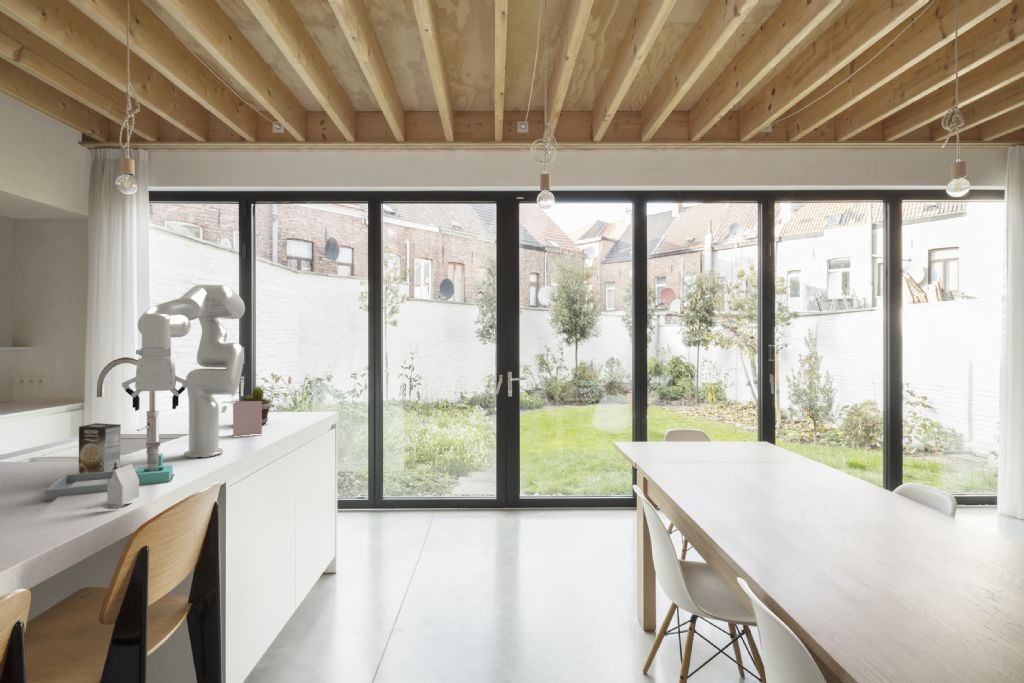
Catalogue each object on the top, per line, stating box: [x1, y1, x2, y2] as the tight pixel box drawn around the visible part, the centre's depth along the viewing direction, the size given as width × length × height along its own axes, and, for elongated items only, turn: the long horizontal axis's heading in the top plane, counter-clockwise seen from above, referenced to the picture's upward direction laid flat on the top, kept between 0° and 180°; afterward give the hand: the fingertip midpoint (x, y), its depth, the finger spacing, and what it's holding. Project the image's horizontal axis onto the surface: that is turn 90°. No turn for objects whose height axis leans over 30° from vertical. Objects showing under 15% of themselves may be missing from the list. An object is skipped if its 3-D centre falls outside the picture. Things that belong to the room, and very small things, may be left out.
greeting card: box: [232, 400, 263, 437], centre depth 237 cm, size 11×7×15 cm, turn 92°
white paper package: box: [106, 463, 140, 510], centre depth 143 cm, size 4×7×10 cm, turn 3°
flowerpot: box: [240, 384, 272, 426], centre depth 266 cm, size 14×15×20 cm
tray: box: [44, 471, 114, 502], centre depth 156 cm, size 17×14×3 cm
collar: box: [135, 452, 174, 486], centre depth 165 cm, size 13×9×6 cm
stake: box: [140, 440, 175, 486], centre depth 163 cm, size 10×10×12 cm
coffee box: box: [78, 422, 122, 474], centre depth 170 cm, size 9×6×16 cm
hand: (155, 409), depth 168 cm, fingers open, 9 cm apart
